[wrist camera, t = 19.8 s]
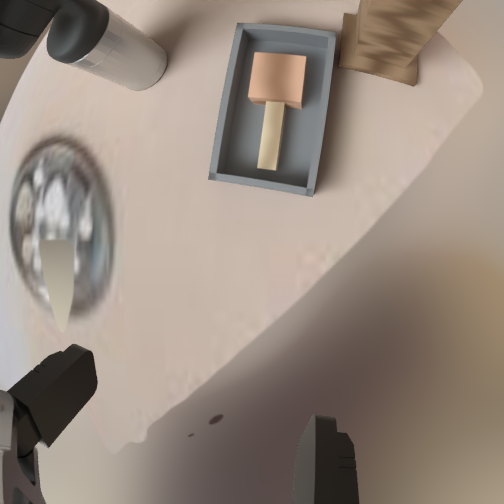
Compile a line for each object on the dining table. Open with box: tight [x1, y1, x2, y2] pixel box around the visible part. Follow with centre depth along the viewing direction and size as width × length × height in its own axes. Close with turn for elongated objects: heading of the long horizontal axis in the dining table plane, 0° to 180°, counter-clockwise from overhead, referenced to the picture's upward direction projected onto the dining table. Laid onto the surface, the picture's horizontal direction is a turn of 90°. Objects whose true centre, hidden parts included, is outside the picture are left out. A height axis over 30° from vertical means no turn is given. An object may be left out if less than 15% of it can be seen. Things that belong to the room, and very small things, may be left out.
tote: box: [208, 23, 336, 197], centre depth 38 cm, size 14×24×5 cm, turn 171°
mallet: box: [248, 52, 307, 171], centre depth 37 cm, size 7×16×4 cm, turn 172°
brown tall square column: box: [339, 0, 463, 86], centre depth 20 cm, size 12×12×32 cm
